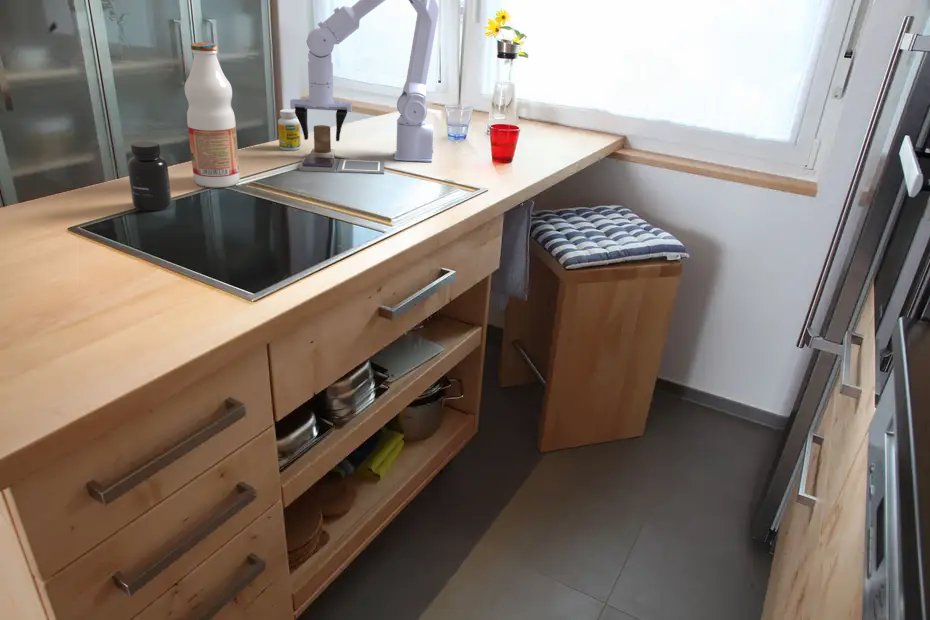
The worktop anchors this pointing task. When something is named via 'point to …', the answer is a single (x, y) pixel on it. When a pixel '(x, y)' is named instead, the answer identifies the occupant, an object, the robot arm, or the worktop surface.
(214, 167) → the fruit juice
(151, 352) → the worktop surface
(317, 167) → the ink pad
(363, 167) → the slate mat
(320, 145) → the stamp
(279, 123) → the supplement bottle
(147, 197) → the supplement bottle
